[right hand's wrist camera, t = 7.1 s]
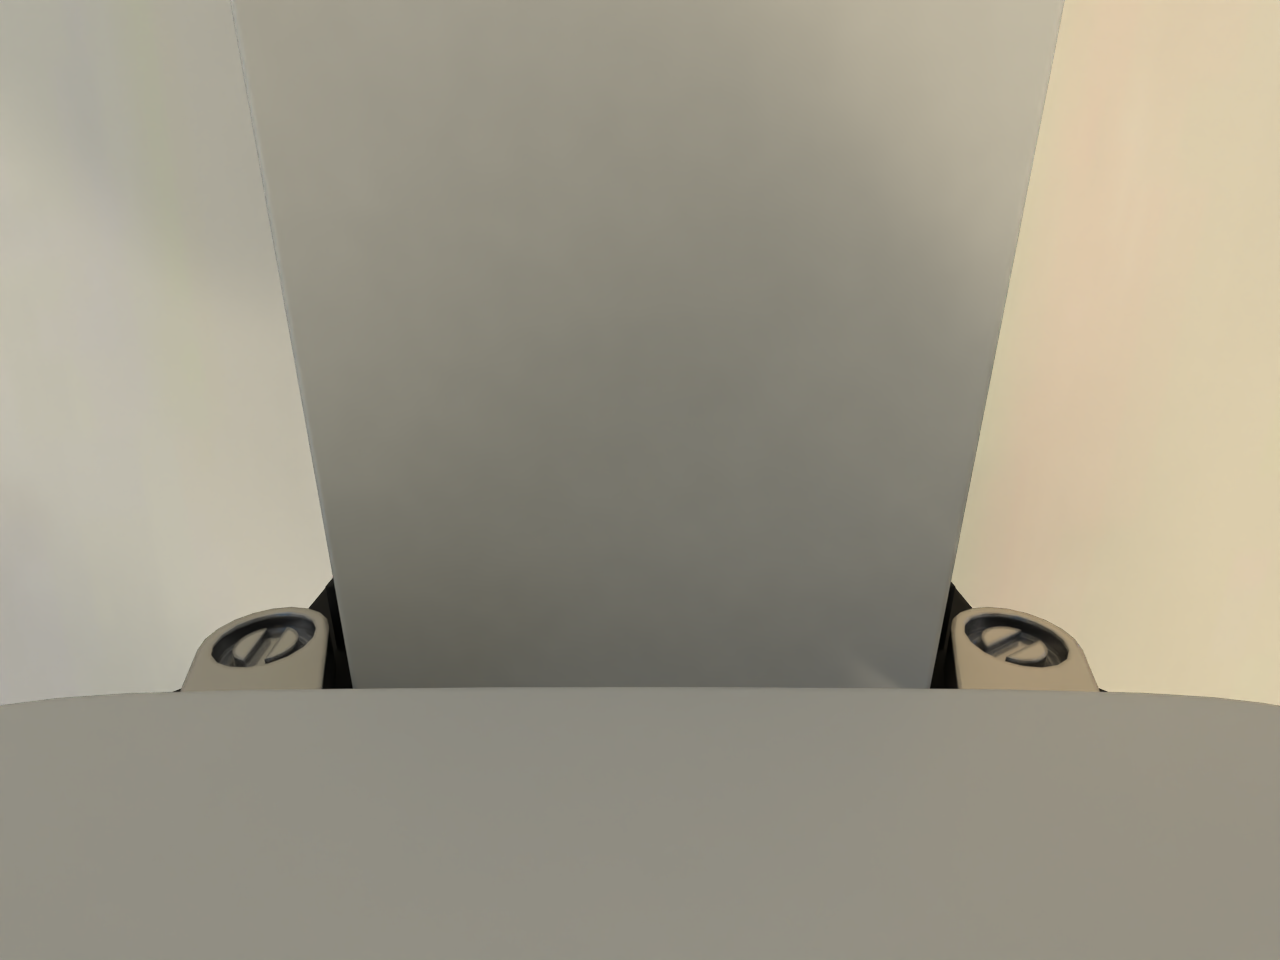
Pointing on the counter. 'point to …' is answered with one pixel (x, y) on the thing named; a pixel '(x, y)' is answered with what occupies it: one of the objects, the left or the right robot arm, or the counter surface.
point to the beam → (644, 322)
